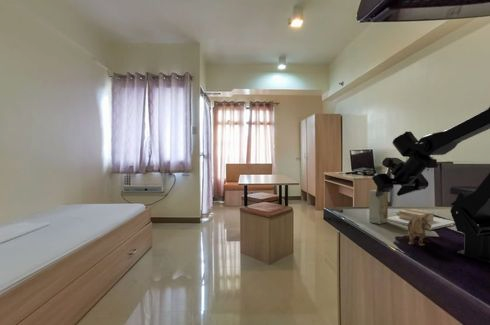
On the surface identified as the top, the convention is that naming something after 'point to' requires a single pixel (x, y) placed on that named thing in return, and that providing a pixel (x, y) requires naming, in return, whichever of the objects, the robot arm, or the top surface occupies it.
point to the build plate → (434, 224)
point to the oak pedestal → (415, 214)
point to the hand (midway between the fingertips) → (387, 195)
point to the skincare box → (378, 208)
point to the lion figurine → (418, 229)
